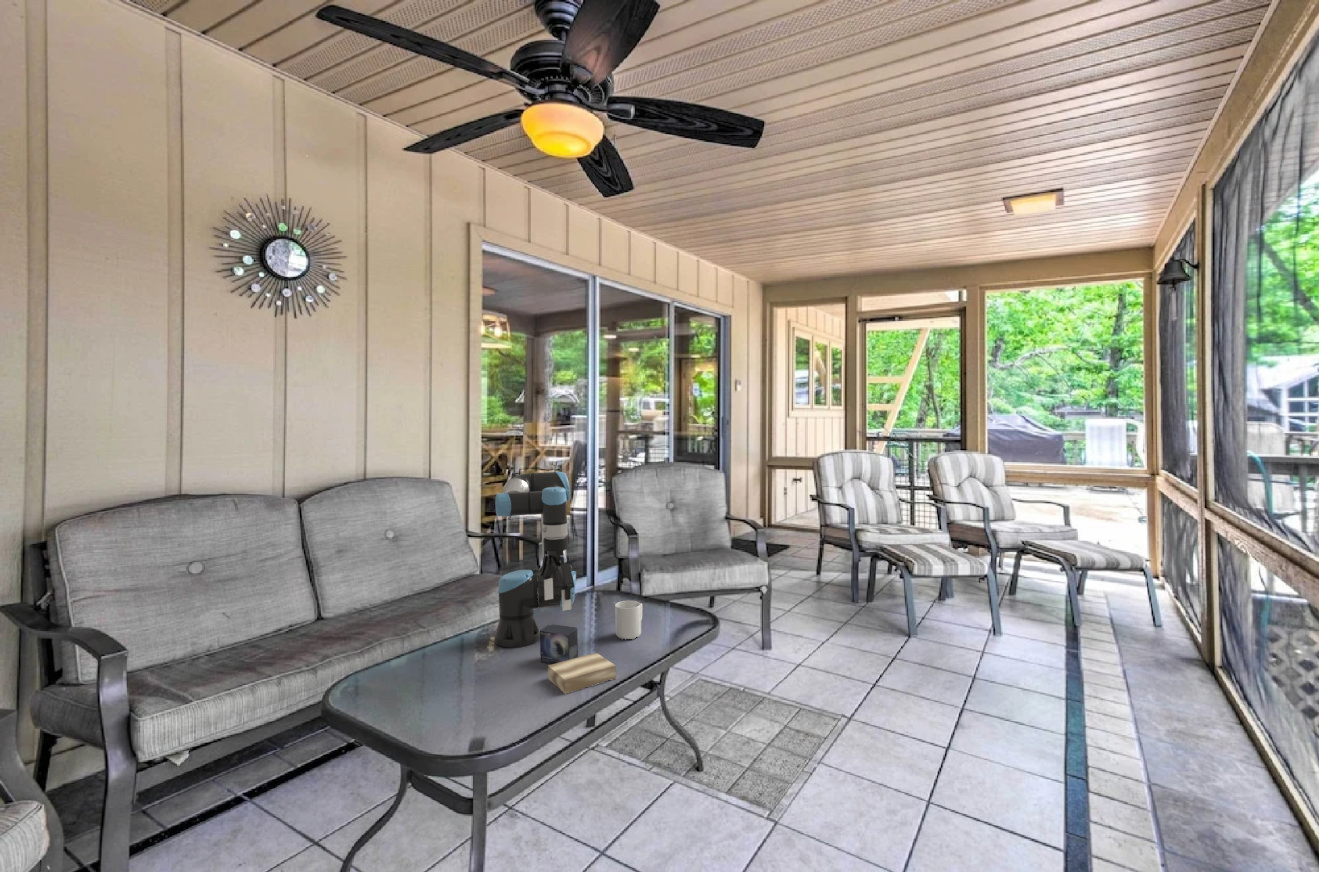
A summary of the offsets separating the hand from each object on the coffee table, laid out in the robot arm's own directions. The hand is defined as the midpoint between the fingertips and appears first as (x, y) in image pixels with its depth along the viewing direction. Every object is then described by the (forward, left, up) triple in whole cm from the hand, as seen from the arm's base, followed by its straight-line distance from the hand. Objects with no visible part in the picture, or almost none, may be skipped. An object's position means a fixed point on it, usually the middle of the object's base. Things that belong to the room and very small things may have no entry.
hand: (557, 604), depth 189 cm
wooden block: (+16, 0, -18) cm, 24 cm away
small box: (0, 0, -18) cm, 18 cm away
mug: (-6, +30, -18) cm, 36 cm away
